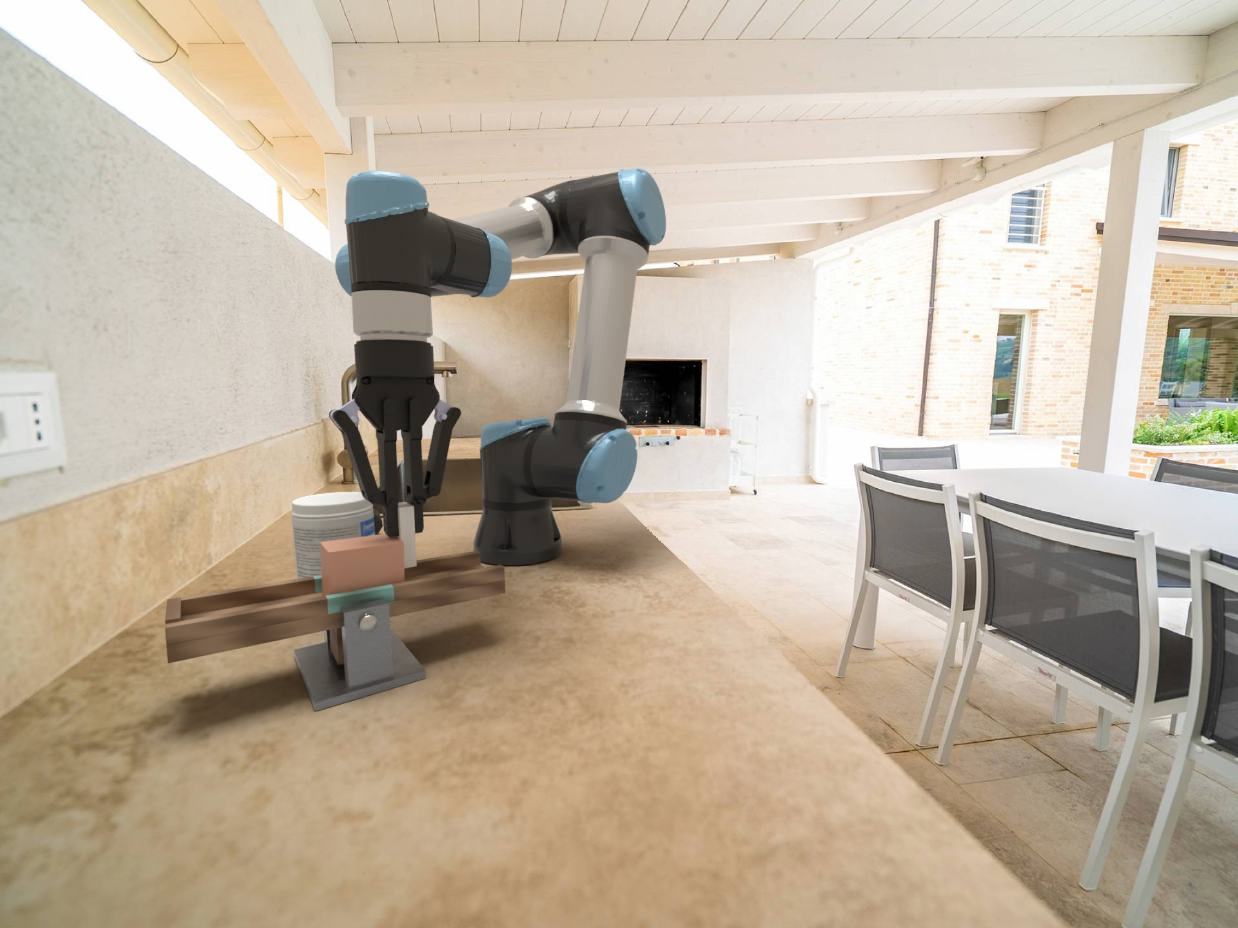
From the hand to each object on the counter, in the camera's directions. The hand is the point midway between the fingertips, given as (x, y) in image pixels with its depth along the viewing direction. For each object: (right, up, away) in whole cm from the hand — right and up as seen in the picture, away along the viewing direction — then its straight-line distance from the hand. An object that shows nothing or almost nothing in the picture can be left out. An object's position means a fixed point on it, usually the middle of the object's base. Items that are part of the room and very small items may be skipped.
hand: (405, 563), depth 62 cm
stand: (-4, -10, -2) cm, 11 cm away
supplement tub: (-14, -8, +15) cm, 22 cm away
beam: (-4, -9, -2) cm, 10 cm away
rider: (-3, -3, -2) cm, 5 cm away
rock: (-28, -4, +47) cm, 54 cm away
